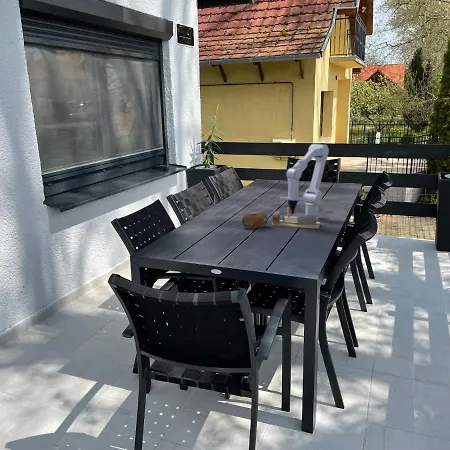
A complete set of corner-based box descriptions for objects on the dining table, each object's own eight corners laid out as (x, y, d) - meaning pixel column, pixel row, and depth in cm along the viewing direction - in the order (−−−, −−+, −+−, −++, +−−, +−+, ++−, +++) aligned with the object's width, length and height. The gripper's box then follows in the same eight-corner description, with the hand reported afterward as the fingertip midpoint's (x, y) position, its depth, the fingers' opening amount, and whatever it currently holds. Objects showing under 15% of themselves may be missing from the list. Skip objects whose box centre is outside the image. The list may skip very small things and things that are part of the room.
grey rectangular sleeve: (298, 222, 266) (298, 214, 265) (316, 223, 264) (316, 215, 263) (297, 224, 261) (297, 216, 260) (315, 225, 259) (315, 217, 258)
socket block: (274, 220, 271) (274, 211, 269) (279, 220, 270) (279, 212, 268) (272, 223, 264) (272, 214, 263) (277, 223, 263) (277, 215, 262)
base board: (273, 221, 272) (273, 219, 272) (319, 223, 266) (319, 222, 266) (271, 225, 263) (271, 224, 263) (318, 228, 256) (318, 226, 256)
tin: (242, 229, 258) (242, 214, 256) (240, 227, 261) (240, 213, 259) (267, 226, 262) (267, 212, 260) (265, 225, 265) (266, 211, 263)
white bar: (283, 220, 267) (283, 206, 265) (311, 221, 263) (312, 207, 261) (282, 221, 264) (283, 207, 262) (311, 222, 260) (311, 208, 258)
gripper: (279, 190, 257) (279, 214, 261) (305, 191, 254) (305, 215, 258) (281, 188, 264) (280, 211, 268) (306, 189, 260) (306, 212, 264)
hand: (292, 213), depth 263 cm, fingers closed
